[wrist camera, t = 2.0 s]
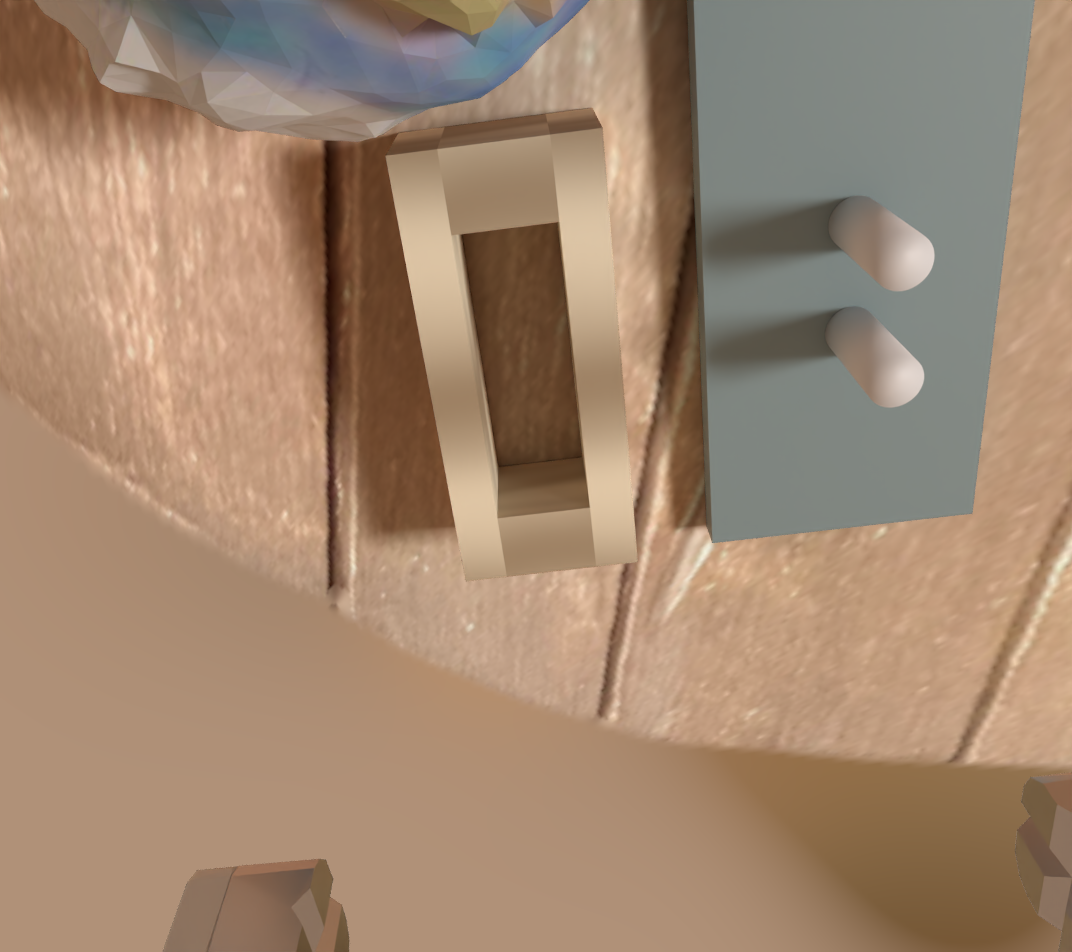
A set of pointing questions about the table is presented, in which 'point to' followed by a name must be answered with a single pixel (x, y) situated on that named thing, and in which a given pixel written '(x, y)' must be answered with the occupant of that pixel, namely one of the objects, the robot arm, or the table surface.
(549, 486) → the beige wooden rectangular frame
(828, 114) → the boss board
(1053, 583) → the table surface
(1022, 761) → the table surface
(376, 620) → the table surface
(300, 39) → the decorative rock
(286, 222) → the table surface
